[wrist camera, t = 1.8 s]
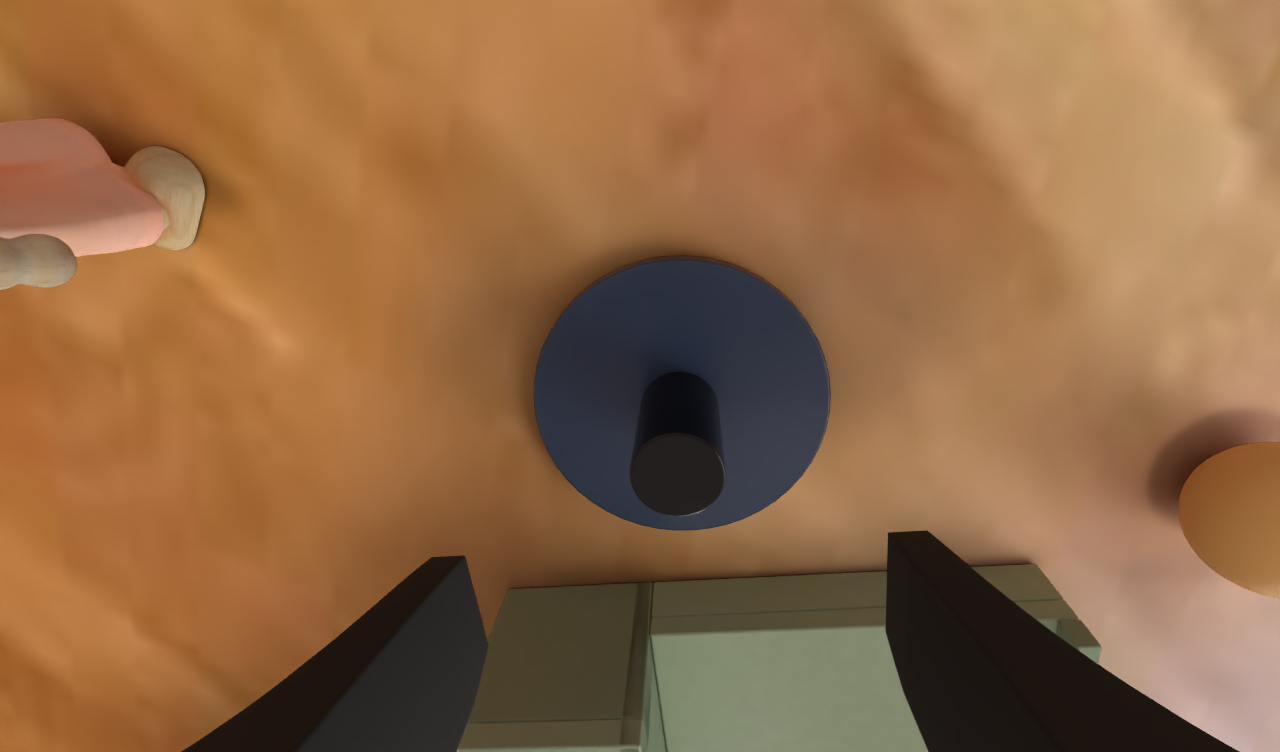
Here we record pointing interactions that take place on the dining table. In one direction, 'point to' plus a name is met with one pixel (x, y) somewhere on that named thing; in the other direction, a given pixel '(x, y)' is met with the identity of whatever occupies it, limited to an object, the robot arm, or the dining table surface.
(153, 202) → the grandmother figurine
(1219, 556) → the figurine
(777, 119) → the dining table surface
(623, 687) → the green step block
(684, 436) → the lid
